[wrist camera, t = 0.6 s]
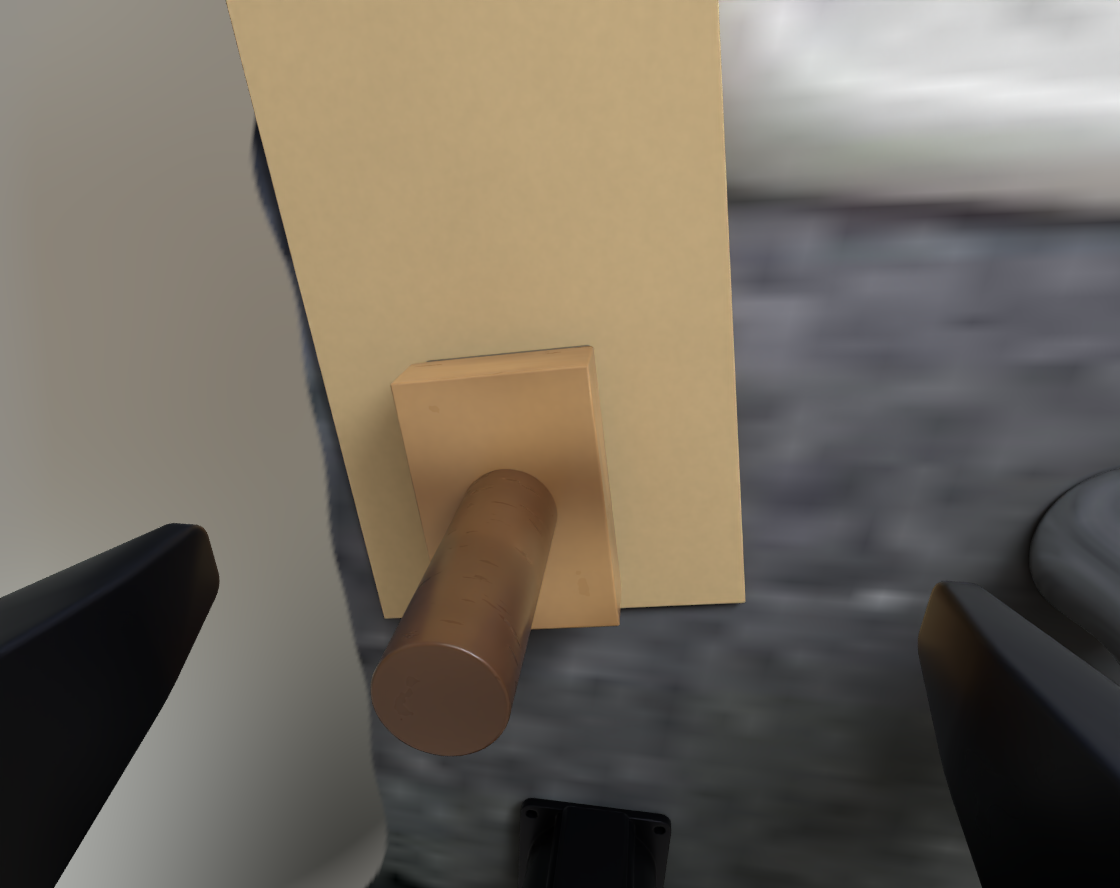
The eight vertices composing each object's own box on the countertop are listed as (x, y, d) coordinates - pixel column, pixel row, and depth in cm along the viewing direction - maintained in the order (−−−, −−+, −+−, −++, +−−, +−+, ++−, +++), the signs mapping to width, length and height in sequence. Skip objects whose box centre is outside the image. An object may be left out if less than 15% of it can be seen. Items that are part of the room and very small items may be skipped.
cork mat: (744, 598, 28) (745, 602, 27) (386, 614, 30) (384, 618, 30) (712, -107, 20) (713, -111, 19) (225, -16, 22) (220, -18, 22)
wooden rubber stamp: (622, 574, 28) (605, 858, 17) (466, 582, 28) (353, 856, 18) (595, 337, 24) (552, 499, 13) (419, 355, 25) (245, 520, 14)
